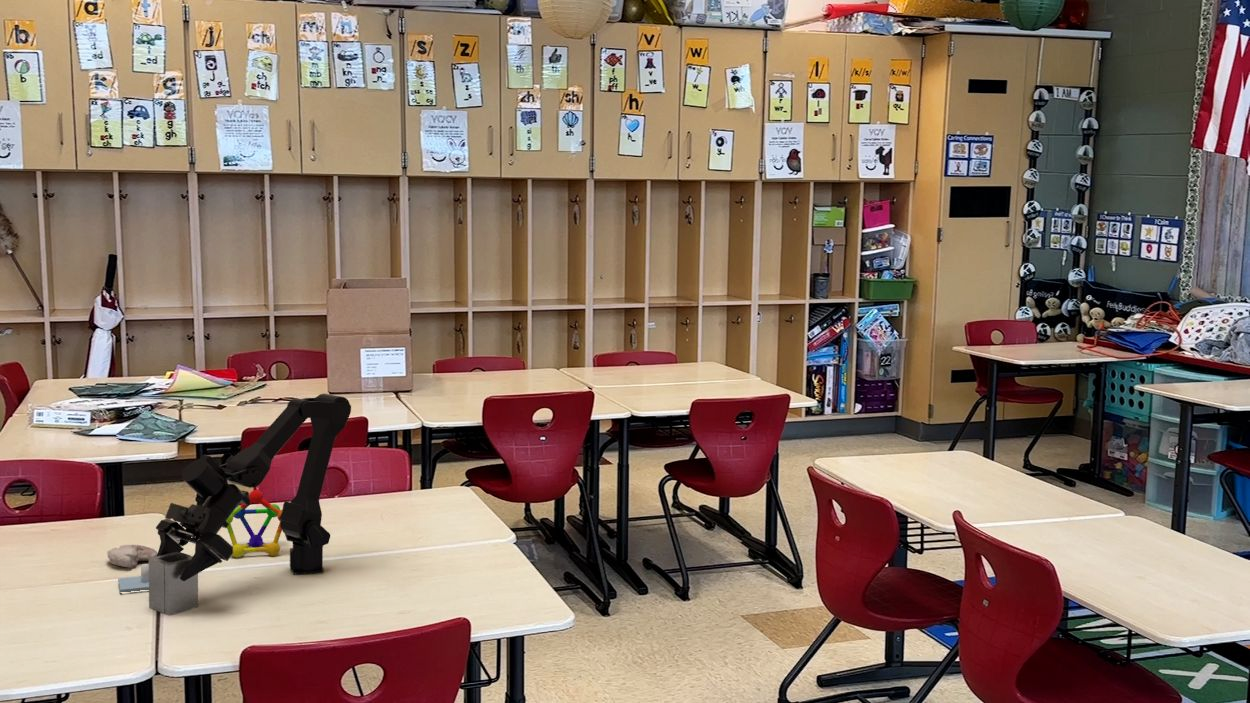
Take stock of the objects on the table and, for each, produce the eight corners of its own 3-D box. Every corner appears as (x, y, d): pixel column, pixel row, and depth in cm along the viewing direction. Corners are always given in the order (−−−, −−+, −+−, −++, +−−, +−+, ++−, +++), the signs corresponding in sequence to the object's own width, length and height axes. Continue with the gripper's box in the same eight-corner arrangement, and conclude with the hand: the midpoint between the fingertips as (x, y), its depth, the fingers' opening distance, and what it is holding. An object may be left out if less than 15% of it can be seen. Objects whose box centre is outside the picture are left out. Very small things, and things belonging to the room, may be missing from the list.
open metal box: (178, 599, 236) (178, 551, 235) (198, 606, 232) (198, 557, 231) (148, 607, 231) (148, 558, 229) (168, 615, 227) (167, 565, 226)
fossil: (124, 536, 265) (166, 542, 264) (122, 555, 265) (164, 560, 264) (94, 548, 253) (138, 554, 252) (93, 567, 253) (136, 573, 252)
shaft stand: (169, 577, 249) (169, 557, 249) (172, 589, 242) (172, 568, 242) (118, 582, 245) (117, 562, 244) (120, 594, 238) (120, 573, 237)
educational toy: (277, 545, 279) (284, 483, 278) (288, 560, 268) (295, 496, 267) (209, 545, 272) (216, 482, 271) (218, 561, 261) (224, 495, 260)
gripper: (164, 479, 237) (113, 543, 230) (220, 495, 227) (169, 562, 219) (198, 510, 245) (150, 573, 237) (254, 527, 234) (206, 593, 226)
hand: (167, 575), depth 230 cm, fingers open, 9 cm apart
